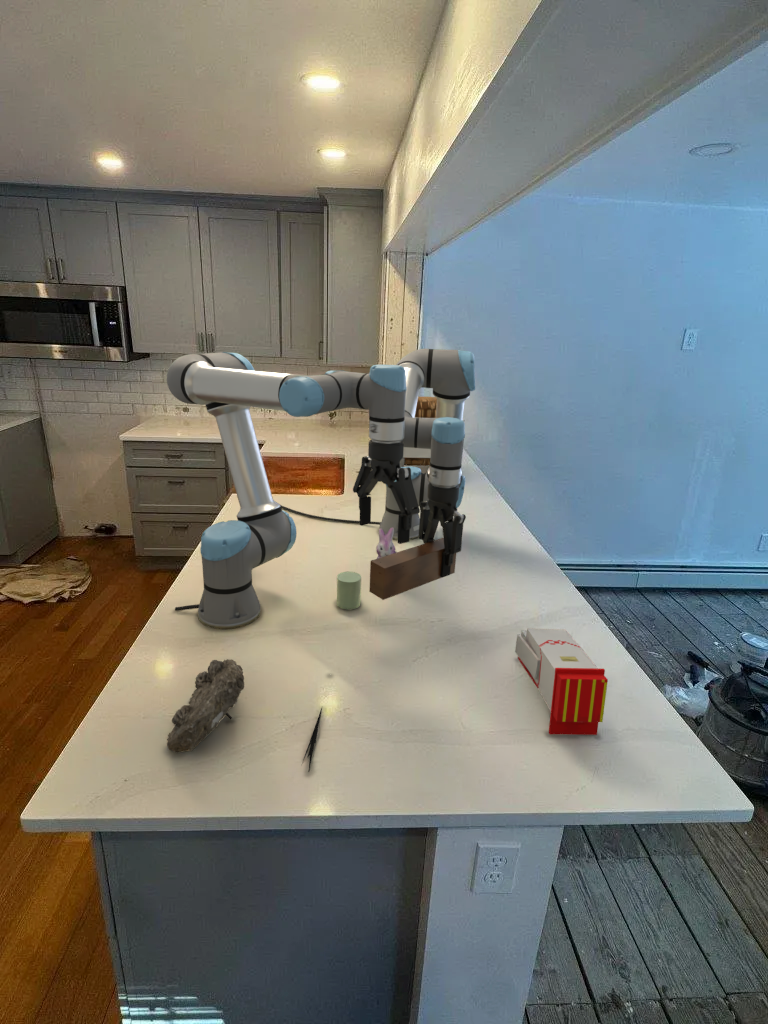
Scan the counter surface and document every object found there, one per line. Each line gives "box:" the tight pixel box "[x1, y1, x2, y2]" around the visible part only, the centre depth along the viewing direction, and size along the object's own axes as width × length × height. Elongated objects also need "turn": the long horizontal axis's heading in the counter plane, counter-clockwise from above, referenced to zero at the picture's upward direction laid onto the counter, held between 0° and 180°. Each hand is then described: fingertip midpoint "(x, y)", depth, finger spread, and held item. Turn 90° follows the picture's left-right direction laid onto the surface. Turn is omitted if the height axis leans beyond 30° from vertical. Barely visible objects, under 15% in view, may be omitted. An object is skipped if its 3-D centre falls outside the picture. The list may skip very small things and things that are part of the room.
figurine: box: [375, 528, 398, 559], centre depth 165 cm, size 9×10×15 cm
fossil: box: [166, 658, 245, 754], centre depth 106 cm, size 22×10×15 cm
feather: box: [301, 673, 332, 771], centre depth 108 cm, size 2×28×2 cm
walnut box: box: [368, 537, 457, 601], centre depth 137 cm, size 24×5×8 cm, turn 131°
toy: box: [514, 627, 609, 736], centre depth 119 cm, size 12×13×30 cm
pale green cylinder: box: [336, 571, 362, 611], centre depth 150 cm, size 6×6×8 cm
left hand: (383, 533), depth 128 cm, fingers open, 13 cm apart
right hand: (436, 571), depth 143 cm, fingers closed on walnut box, 5 cm apart
